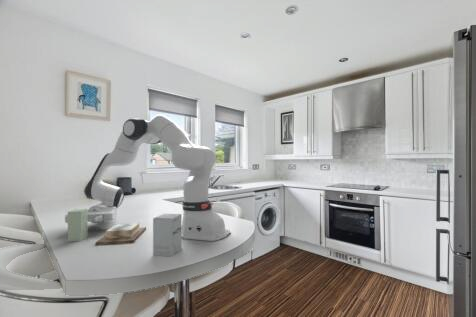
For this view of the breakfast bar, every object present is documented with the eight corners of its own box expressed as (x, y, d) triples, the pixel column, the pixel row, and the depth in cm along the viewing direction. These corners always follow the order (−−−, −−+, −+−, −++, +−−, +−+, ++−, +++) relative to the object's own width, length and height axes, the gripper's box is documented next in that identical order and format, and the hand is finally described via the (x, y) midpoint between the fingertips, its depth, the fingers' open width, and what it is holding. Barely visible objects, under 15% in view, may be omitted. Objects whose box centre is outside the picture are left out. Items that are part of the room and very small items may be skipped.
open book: (146, 229, 106) (146, 220, 106) (133, 242, 88) (133, 232, 88) (114, 231, 104) (114, 222, 104) (95, 244, 86) (95, 234, 86)
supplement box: (172, 256, 74) (172, 218, 74) (152, 255, 75) (152, 217, 76) (182, 248, 81) (182, 213, 81) (163, 247, 83) (163, 213, 83)
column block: (87, 236, 96) (87, 208, 96) (81, 240, 91) (81, 211, 91) (75, 237, 95) (75, 209, 96) (67, 241, 90) (67, 211, 91)
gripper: (75, 208, 109) (55, 214, 95) (119, 206, 112) (107, 212, 98) (75, 221, 109) (55, 229, 95) (119, 219, 111) (107, 226, 98)
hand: (82, 220), depth 96 cm, fingers open, 8 cm apart
